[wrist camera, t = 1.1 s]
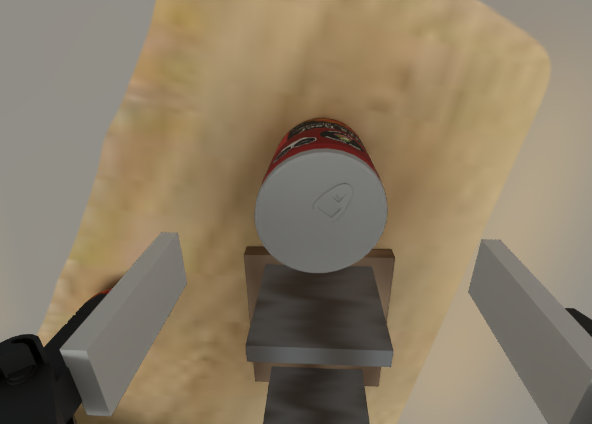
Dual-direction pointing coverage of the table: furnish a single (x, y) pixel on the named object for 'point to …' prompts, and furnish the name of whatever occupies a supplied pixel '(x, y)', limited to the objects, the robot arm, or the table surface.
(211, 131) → the table surface
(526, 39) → the table surface
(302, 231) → the canned food
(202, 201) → the table surface
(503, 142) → the table surface
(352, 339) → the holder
